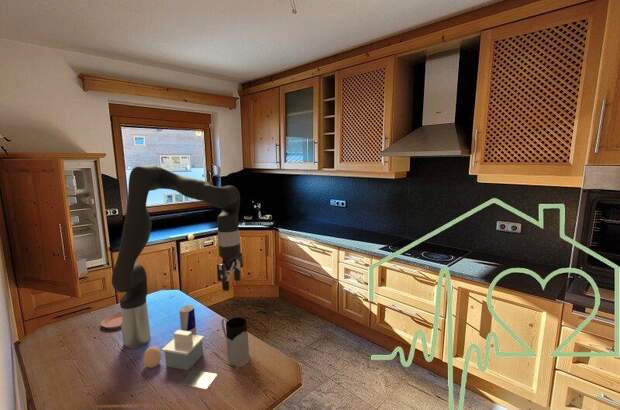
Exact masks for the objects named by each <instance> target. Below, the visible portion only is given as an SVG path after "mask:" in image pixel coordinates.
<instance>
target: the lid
mask: <svg viewBox="0 0 620 410" xmlns="http://www.w3.org/2000/svg"><path fill="white" fill-rule="evenodd" d="M204 339H205V336H204V335H198V334H197V335H193V334H192V332H190V331H183V330H181V329H177V330H176V331H174V333H173V338H172V340H170V341H169V342H168V343H167V344H166V345H165V346H164V347H163V348H161V352H164V353H165V352H170V353H176V354H182V355H188V354H189V353H190V352H191V351H192V350H193V349H194V348H195V347H196V346H197V345H198V344H199V343H200V342H201V341H202V342H203V340H204Z"/></svg>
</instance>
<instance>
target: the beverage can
mask: <svg viewBox="0 0 620 410" xmlns="http://www.w3.org/2000/svg"><path fill="white" fill-rule="evenodd" d="M179 321H180V330H183V331H190V332H192V334H193V335H198V334H197V324H196V315H195V307H194V306H193V305H189V304H188V305H184V306H181V307H180V308H179Z"/></svg>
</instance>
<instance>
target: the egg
mask: <svg viewBox="0 0 620 410" xmlns="http://www.w3.org/2000/svg"><path fill="white" fill-rule="evenodd" d="M142 359H143V360H142V361H143V363H144V366H145V367H147V368H151V369H152V368H155V367H157V366H158V365H159V364H160V362H161V360H162V354H161V350H160V349H159V348H157V347H156V346H150V347H148V348H147V349H146V350H145V352H144V354H143V358H142Z"/></svg>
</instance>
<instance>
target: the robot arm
mask: <svg viewBox="0 0 620 410" xmlns="http://www.w3.org/2000/svg"><path fill="white" fill-rule="evenodd" d="M127 188H128V193H127V205H126V211H125V218H124V222H123V226H122V233H121V241H120V244H119V250H118V254H117V258H116V262H115V264H114V265H115V266H114V268H113V271H112V275H111V285H112V288H113V289H114V290H115V291H116V292H117V293H124V294H123V296H122V297H121V298H120V300H119V307H120V312H121V314H122V323H121V327H120V329H121V335H122V344H123V345H124V346H125V348H127V349H131V350H133V349H138V348H141V347H144V346H146V345H147V344H148V343H149V342H150V341H151V339H152V336H151V329H150V328H151V327H150V321H149V320H150V319H149V313H148V304H147V303H148V302H147V296H148V279H147V272H146V269H145V268H144V266H143V265H142V264H140V263H138V262H137V259H138V258H139V256H140V255H141V254H142V252H143V250H144V249H145V247H146V246H147V243H148V242H149V239H150V236H151V231H152V226H153V225H152V224H153V223H152V218H151V216H150V214H149V212H148V209H147V200H148V197H149V196H148V195H149V194H150V192H151V191H156V190H172V191H175V192H177V193H179V194H180V195H182V196H184V197H187V198H189V199H192V200H196V201H200V202H204V203H206V204H208V205H210V206H212V207H215V208H221V211H220V214H218V216H217V245H218V255H219V258H221V259H222V262H221V263H218V264H216V269H217V270H216V271H217V273H216V274H217V281H218V282H221V286H222V287H221V288H222V291H223V292H228V291H229V290H230V280H229V279H230V276H231V275H232V273H233V278H234V279H233V281H236V282H240V281H241V279H242V278H241V271H242V268H243V267H244V260H243V252H242V251H241V240H240V239H241V237H240V236H241V235H240V232H239V212H240V204H241V194H240V192H239V190H238V188H237V187H236V186H234V185H225V186H215V185H213V184H212V183H211V182H208V181H206V180H202V179H197V178H192V177H189V176H188V177H187V176H184V175H181V174H177V173H174V172H172V171H170V170H167V169H165V168H163V167H161V166H157V165H154V164H149V165H137V166H135V167H133V168H132V169H131V171H130V173H129V176H128V187H127ZM136 262H137V263H136Z"/></svg>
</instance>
